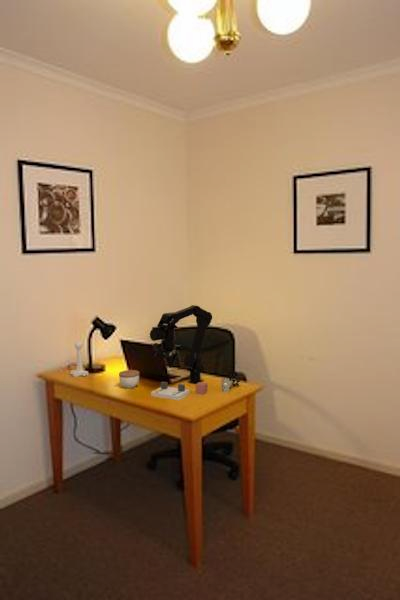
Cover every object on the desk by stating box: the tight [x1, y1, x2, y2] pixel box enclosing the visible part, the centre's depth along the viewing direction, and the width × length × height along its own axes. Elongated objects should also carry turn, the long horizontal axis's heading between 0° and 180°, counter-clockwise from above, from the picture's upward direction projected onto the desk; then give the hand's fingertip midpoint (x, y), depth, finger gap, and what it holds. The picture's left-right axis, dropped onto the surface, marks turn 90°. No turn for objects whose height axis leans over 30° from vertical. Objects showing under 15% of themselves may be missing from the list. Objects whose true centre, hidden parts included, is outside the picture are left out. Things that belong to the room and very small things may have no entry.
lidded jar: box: [118, 369, 140, 390], centre depth 247 cm, size 11×11×9 cm
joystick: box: [69, 340, 89, 378], centre depth 271 cm, size 11×8×20 cm
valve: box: [221, 373, 241, 393], centre depth 240 cm, size 7×7×12 cm
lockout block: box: [195, 381, 209, 396], centre depth 235 cm, size 4×4×5 cm
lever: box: [177, 383, 186, 391], centre depth 232 cm, size 2×3×3 cm, turn 63°
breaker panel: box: [150, 386, 191, 401], centre depth 233 cm, size 11×16×3 cm
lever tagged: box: [160, 381, 169, 389], centre depth 237 cm, size 2×3×3 cm, turn 63°
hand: (170, 367), depth 241 cm, fingers closed
